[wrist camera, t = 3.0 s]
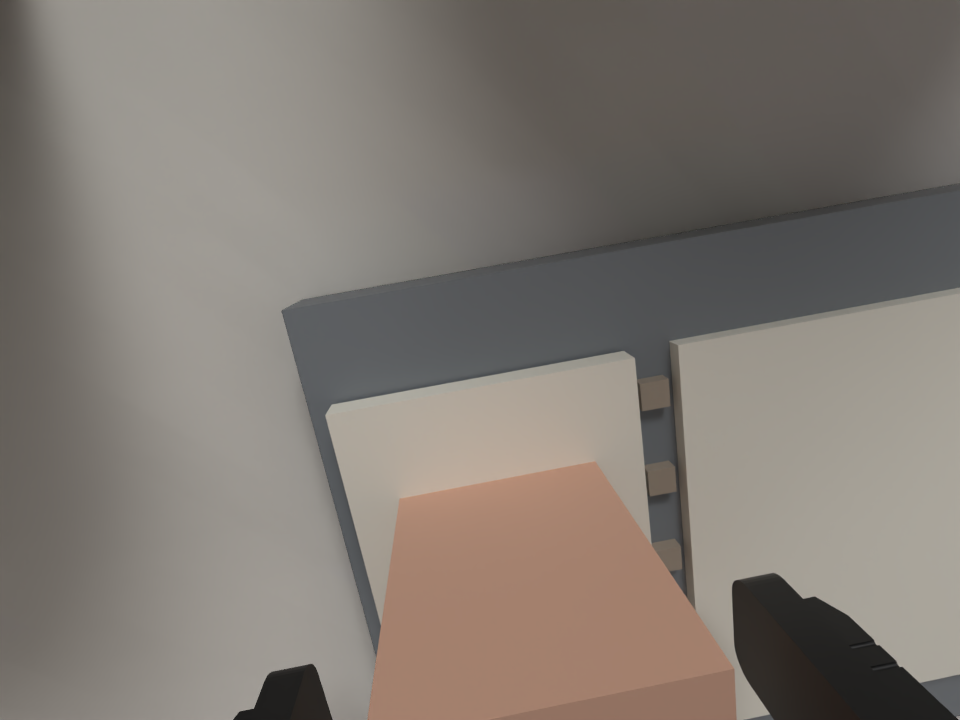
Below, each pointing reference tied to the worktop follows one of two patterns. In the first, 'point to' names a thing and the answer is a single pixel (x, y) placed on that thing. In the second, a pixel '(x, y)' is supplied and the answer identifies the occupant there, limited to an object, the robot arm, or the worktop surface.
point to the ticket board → (727, 400)
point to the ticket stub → (521, 553)
